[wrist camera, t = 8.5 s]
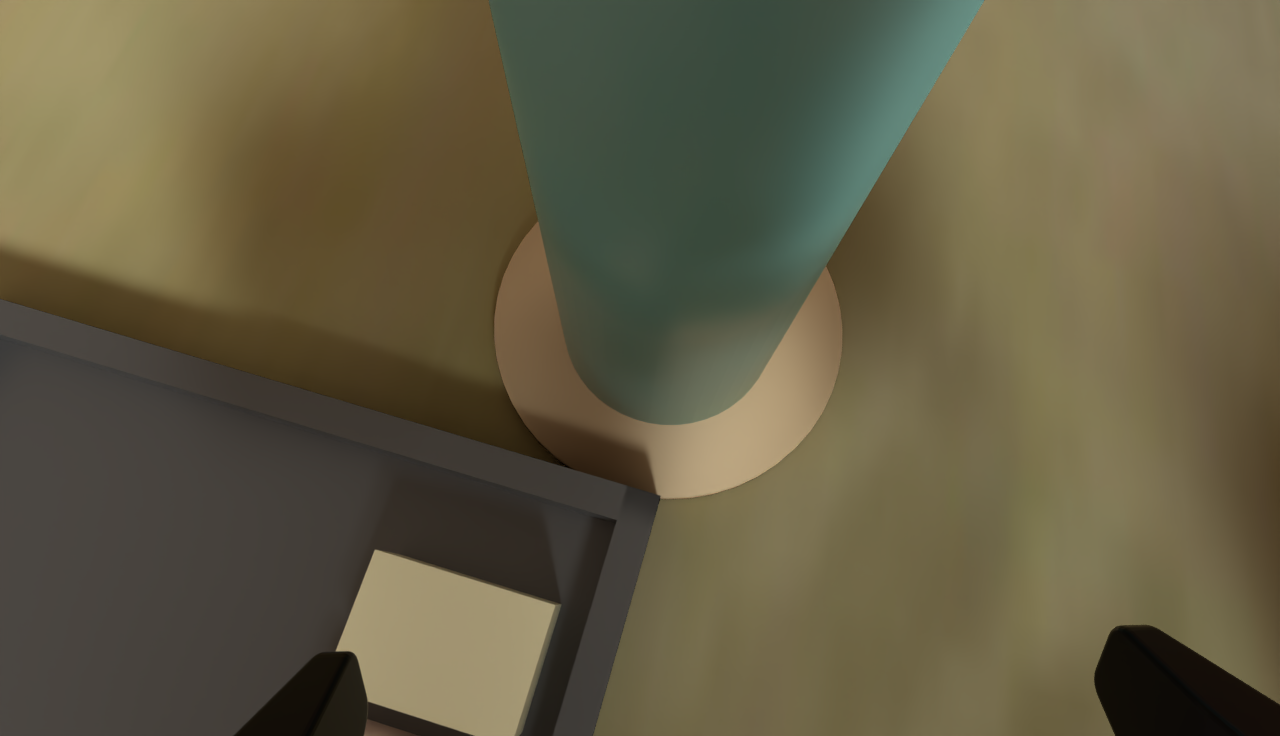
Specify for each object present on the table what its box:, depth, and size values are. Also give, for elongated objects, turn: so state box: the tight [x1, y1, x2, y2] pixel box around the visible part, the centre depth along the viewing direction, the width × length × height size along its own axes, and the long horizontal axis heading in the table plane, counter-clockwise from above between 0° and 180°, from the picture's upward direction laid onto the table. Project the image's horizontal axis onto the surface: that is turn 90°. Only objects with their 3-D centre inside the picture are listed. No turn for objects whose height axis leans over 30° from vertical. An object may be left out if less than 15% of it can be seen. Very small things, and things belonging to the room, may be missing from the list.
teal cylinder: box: [489, 0, 984, 425], centre depth 12 cm, size 5×5×15 cm
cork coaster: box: [494, 222, 843, 499], centre depth 20 cm, size 9×9×1 cm
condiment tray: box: [0, 299, 661, 736], centre depth 16 cm, size 18×15×2 cm
